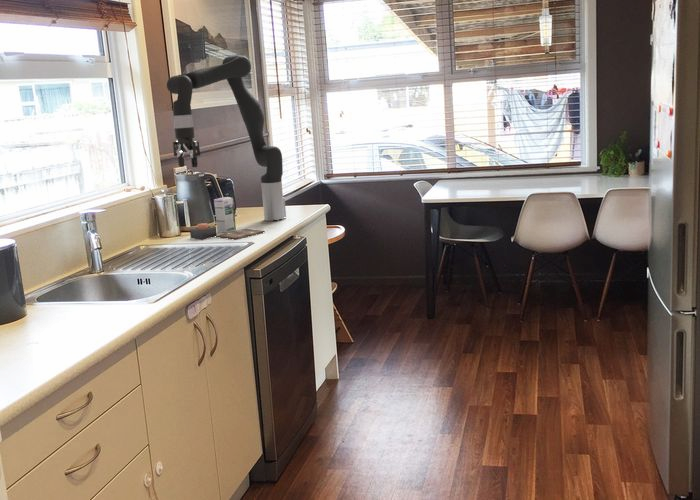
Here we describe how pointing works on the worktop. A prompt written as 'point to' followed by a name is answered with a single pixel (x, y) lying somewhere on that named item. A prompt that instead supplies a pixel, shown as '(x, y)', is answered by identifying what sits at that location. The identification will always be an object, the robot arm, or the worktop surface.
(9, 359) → the worktop surface
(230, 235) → the board
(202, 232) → the button housing
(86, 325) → the worktop surface
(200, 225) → the button
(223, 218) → the syrup box
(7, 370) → the worktop surface
